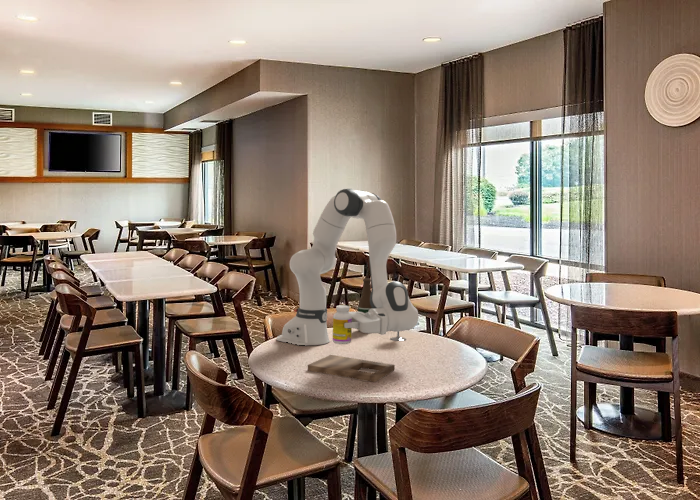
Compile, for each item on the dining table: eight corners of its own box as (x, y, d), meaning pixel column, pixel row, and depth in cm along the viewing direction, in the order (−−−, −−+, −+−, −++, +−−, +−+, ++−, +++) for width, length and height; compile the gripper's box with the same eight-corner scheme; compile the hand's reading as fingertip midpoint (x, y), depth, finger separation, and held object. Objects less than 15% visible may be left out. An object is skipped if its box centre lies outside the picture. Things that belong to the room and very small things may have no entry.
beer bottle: (376, 329, 278) (377, 278, 276) (371, 333, 271) (372, 280, 269) (360, 328, 281) (361, 277, 279) (355, 331, 274) (356, 279, 271)
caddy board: (307, 370, 212) (307, 364, 212) (330, 359, 226) (330, 354, 226) (374, 382, 200) (374, 376, 200) (394, 370, 214) (394, 364, 214)
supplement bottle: (349, 345, 210) (350, 308, 209) (330, 344, 211) (331, 307, 210) (353, 340, 217) (353, 305, 215) (334, 339, 218) (335, 304, 217)
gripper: (364, 306, 227) (330, 308, 222) (388, 317, 209) (350, 319, 203) (364, 323, 228) (329, 325, 223) (387, 335, 209) (350, 338, 204)
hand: (339, 322), depth 213 cm, fingers closed on supplement bottle, 7 cm apart
